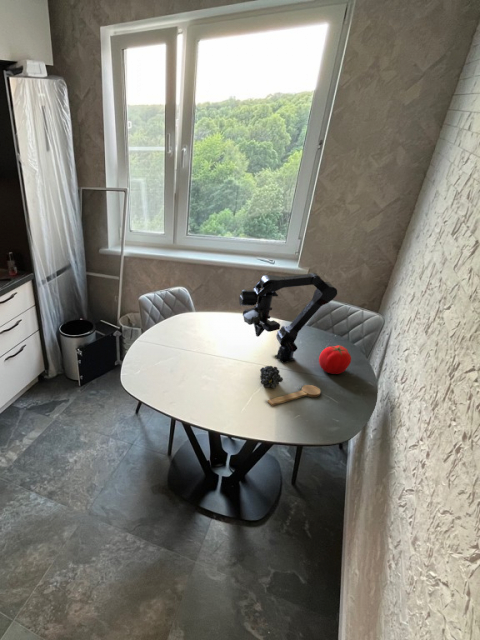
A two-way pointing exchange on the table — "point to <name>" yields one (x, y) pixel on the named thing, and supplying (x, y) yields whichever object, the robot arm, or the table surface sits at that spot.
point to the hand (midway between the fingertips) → (257, 336)
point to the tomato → (334, 359)
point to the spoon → (297, 395)
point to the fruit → (270, 376)
